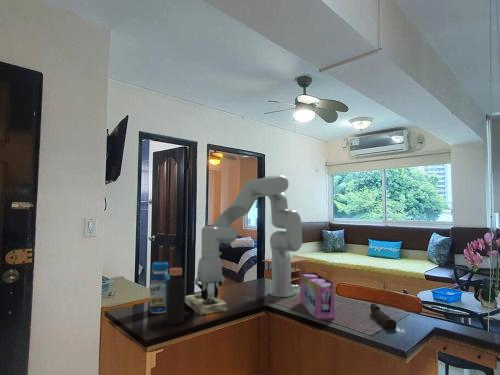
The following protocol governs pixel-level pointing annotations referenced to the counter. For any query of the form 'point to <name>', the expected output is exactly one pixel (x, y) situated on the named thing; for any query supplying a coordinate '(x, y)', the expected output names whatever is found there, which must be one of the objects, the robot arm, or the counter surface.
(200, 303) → the jig plate
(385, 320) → the hand tool
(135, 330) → the counter surface
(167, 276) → the beverage bottle
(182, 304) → the vinegar
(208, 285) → the steel sleeve
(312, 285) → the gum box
